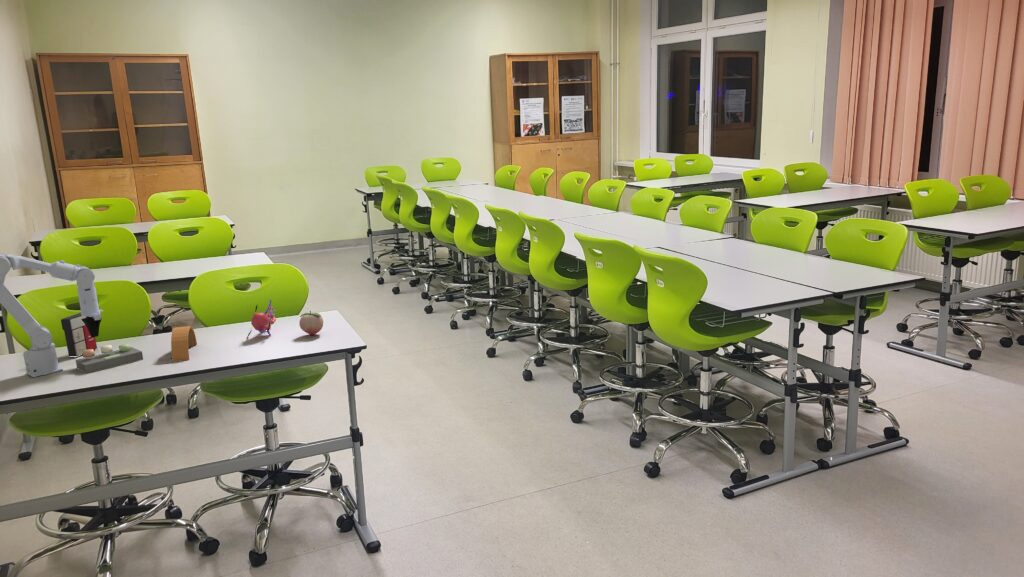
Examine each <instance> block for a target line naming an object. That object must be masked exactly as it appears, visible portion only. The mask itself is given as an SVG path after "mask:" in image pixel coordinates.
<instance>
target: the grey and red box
mask: <svg viewBox="0 0 1024 577" xmlns="http://www.w3.org/2000/svg"><path fill="white" fill-rule="evenodd" d="M83 318H86V316H81V312H79V313H75V314H72V315H70V316H67V317H63V318H61V319H60V323H61V329H62V330H63V332H64V337H65V341H66V342H65V343H66V347H67V353H68V357H69V356H79V355H81V354H83V353H82V351H84V350H88V349H96V348H97V349H98V346H97V340H96V337H91V336H90V333H89V331H88V329H87V327H86V325H85V324H84V322H83V321H82V319H83ZM97 349H96V350H97ZM81 356H82V355H81ZM79 357H80V356H79Z"/></svg>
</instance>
